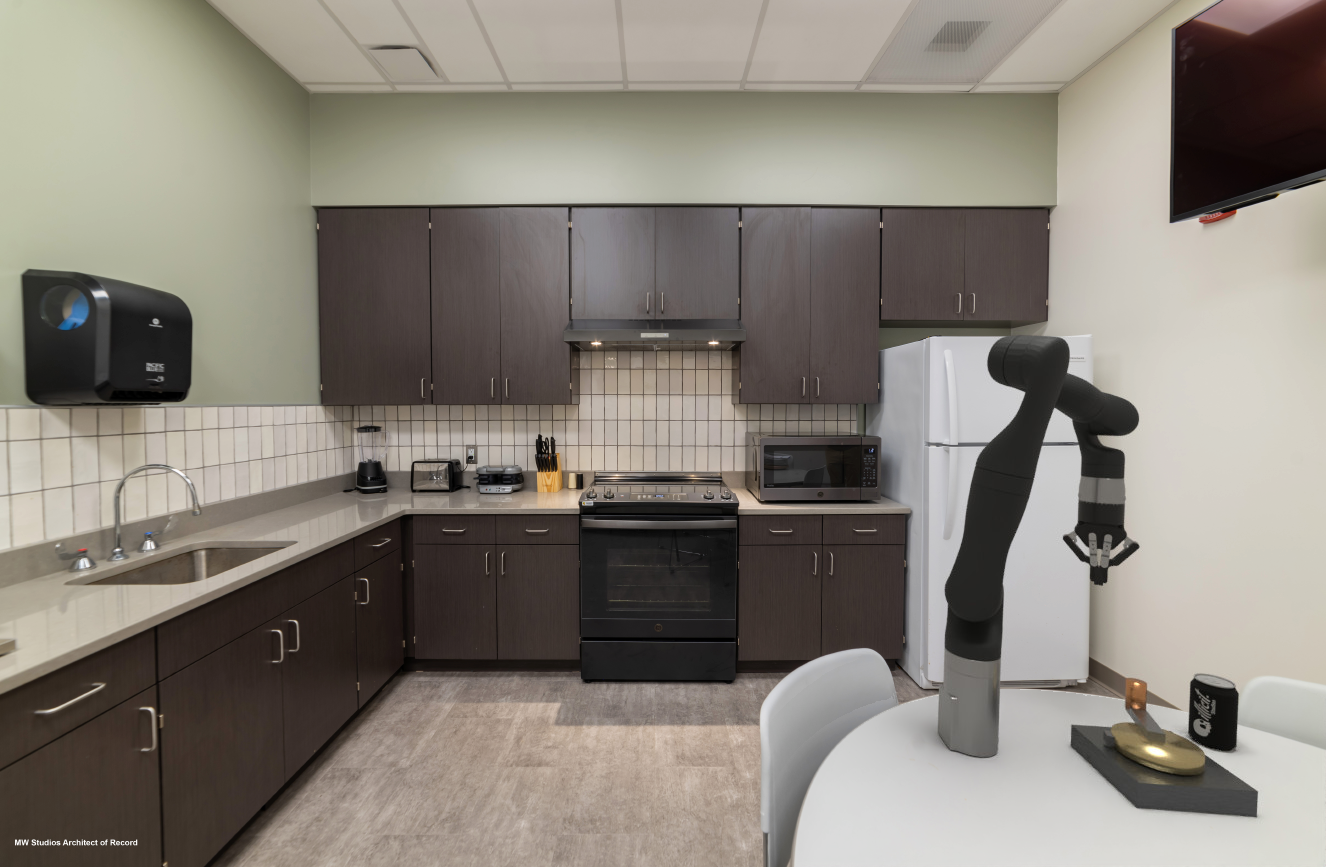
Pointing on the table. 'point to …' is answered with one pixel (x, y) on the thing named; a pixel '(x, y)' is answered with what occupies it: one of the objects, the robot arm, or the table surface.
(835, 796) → the table surface
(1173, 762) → the gold plate with handle
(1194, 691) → the beverage can
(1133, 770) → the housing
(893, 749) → the table surface
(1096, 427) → the robot arm
